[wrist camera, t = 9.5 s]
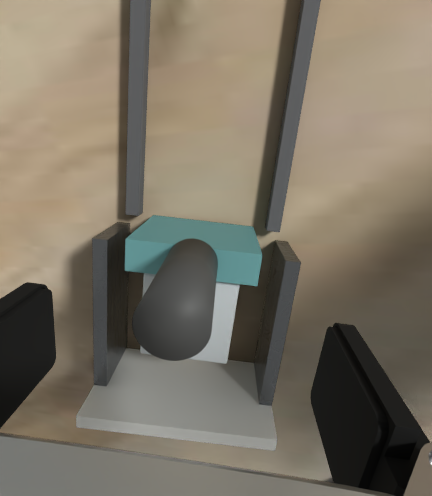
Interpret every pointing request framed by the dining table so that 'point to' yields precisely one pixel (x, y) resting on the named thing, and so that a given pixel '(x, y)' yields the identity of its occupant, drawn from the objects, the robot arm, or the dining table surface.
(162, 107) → the dining table surface
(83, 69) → the dining table surface
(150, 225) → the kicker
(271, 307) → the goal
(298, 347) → the dining table surface
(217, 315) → the product box
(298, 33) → the lane rails
